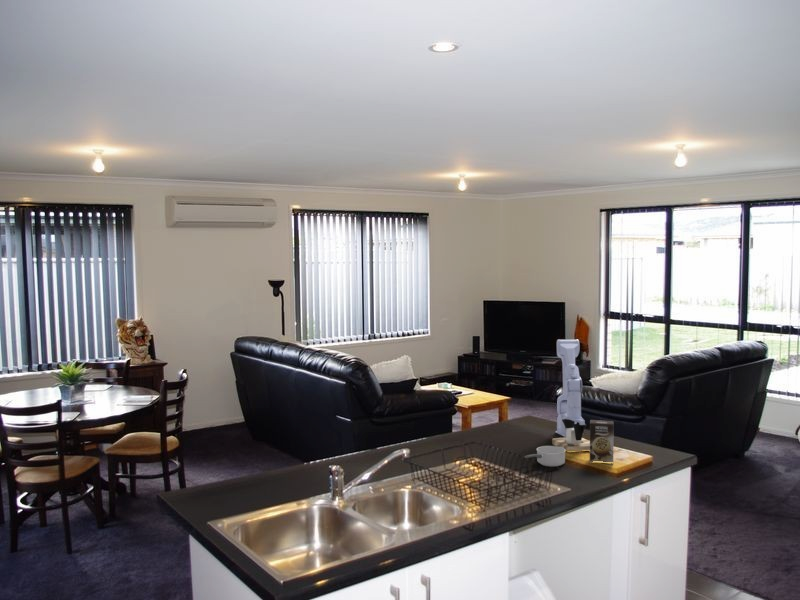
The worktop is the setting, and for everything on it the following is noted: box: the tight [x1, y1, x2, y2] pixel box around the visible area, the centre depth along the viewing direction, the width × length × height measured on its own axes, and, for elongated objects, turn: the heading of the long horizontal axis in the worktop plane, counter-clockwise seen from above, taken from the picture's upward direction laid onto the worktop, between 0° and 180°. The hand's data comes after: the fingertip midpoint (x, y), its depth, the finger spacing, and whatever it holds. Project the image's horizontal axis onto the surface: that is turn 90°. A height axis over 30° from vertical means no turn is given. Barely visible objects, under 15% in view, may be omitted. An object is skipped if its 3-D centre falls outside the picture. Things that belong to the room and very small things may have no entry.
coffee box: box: [589, 419, 615, 463], centre depth 267 cm, size 9×6×16 cm
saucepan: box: [523, 445, 566, 468], centre depth 264 cm, size 12×20×6 cm, turn 125°
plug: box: [566, 428, 585, 444], centre depth 288 cm, size 4×7×8 cm, turn 105°
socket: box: [551, 436, 590, 451], centre depth 288 cm, size 15×13×3 cm
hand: (574, 437), depth 288 cm, fingers open, 7 cm apart
